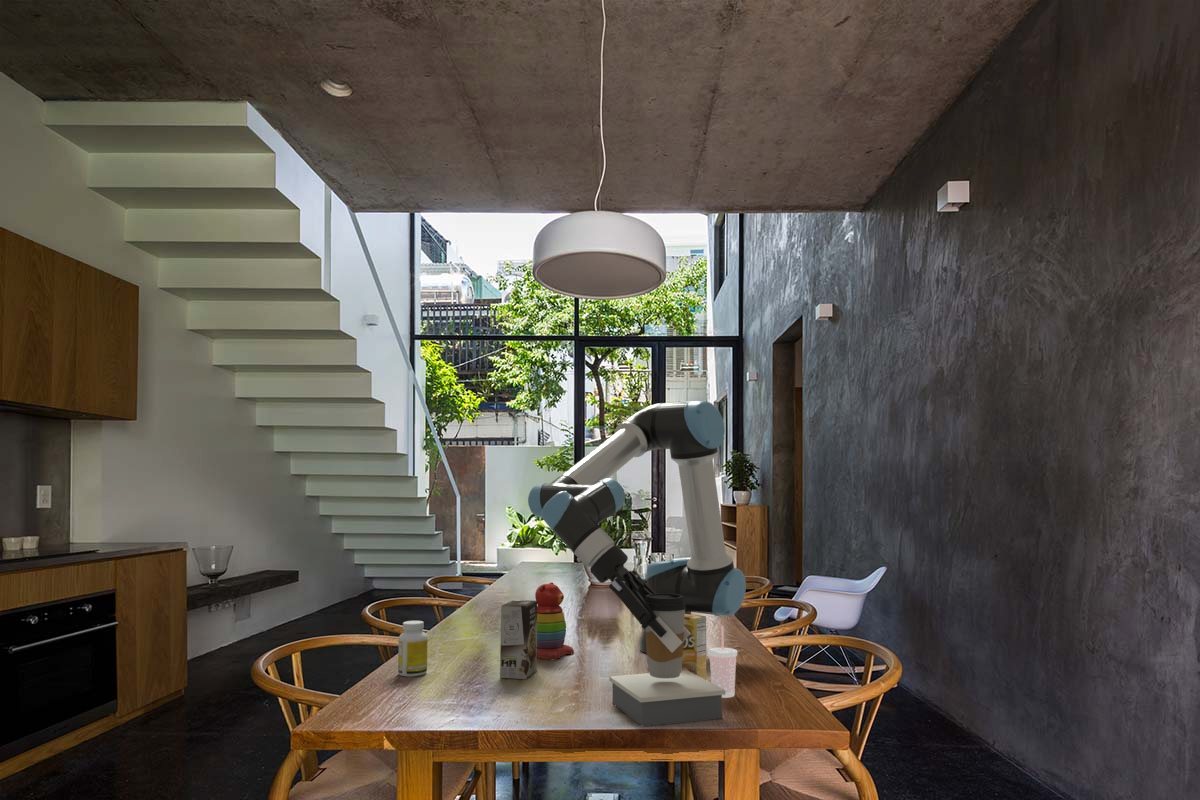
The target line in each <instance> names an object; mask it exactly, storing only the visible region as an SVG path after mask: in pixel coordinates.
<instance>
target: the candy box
mask: <svg viewBox="0 0 1200 800" xmlns="http://www.w3.org/2000/svg"><path fill="white" fill-rule="evenodd" d="M684 627H685V628H686V629H687V630H688V631H689V632H690V633H691V634H690V635H689V636H688V637H687V638H686V639H685V640H684V643H683V656H682V670H688V671H690V672H692V673H693V674H695V675H697V676H699V677H701V678H703V679H705V680H707V616H706V615H697V614H692V613H691V614H685V618H684Z"/></svg>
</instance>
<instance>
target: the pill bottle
mask: <svg viewBox="0 0 1200 800" xmlns="http://www.w3.org/2000/svg"><path fill="white" fill-rule="evenodd" d="M424 622H425V621H422V620H407V621H404V622H402V630H403V632H402V633H401V634H400V635H399V636H398V649H397V650H398V653H397V654H398V658H397V659H398V662H397V664H398V665H397V666H398V667H397V672H398V675H400V676H401V677H419V676H423V675H425V674H426V673H427V672H428V635H427V634H426V632H424V631H423V629H424V626H425V625H424V624H425V623H424Z"/></svg>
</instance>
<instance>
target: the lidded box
mask: <svg viewBox="0 0 1200 800" xmlns="http://www.w3.org/2000/svg"><path fill="white" fill-rule="evenodd" d="M608 679H609V681H610V683H612V704H613V705H614V706H615V705H616V706H617V707H616V706H615V707H616V708H618V709H619V708H620V709H621V710H622V711H621V710H620V709H619V710H620V711H621V712H623V713H624V712H625V713H626V714H625V713H624V714H625V715H626V716H628V717H629V718H631V719H632V720H633V721H634V722H636V723H637V724H639V726H641V727H643V728H644V727H651V725H653V726H661V725H662V724H663V725H670V724H671V725H672V724H680V723H681V724H682V723H690V722H699V721H708V720H709V721H710V720H719V719H723V698H722V695H725V690H724V689H722V688H720V687H718V686H716V685H714V684H713V683H711V682H710V681H709V680H707V679H706V680H705V679H703V678H701V677H699V676H697V675H695V674H693V673H692V672H690V671H688V670H682V671H681V673H680V676H679V677H676V678H656V677H652V676H650V673H649V672H647V673H636V674H635V673H634V674H623V675H622V674H621V675H611V676H609V678H608Z"/></svg>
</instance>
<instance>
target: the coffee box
mask: <svg viewBox="0 0 1200 800" xmlns="http://www.w3.org/2000/svg"><path fill="white" fill-rule="evenodd" d="M537 606H538V604H537V601H536V600H526V599H525V600H524V599H522V600H511V601H508V602H506V603H504V604H502V605H500V607H501V608H500V644H499V645H500V649H499V650H500V652H499V653H500V655H499V659H500V660H499V661H500V662H499V665H500V666H499V678H501V679H515V680H527V677H528V678H530V677H531V676H532V675H533V674H534V673H535V672H537V671H538V668H537V664H538V662H537V661H538V658H537ZM532 673H533V674H532Z"/></svg>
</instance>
